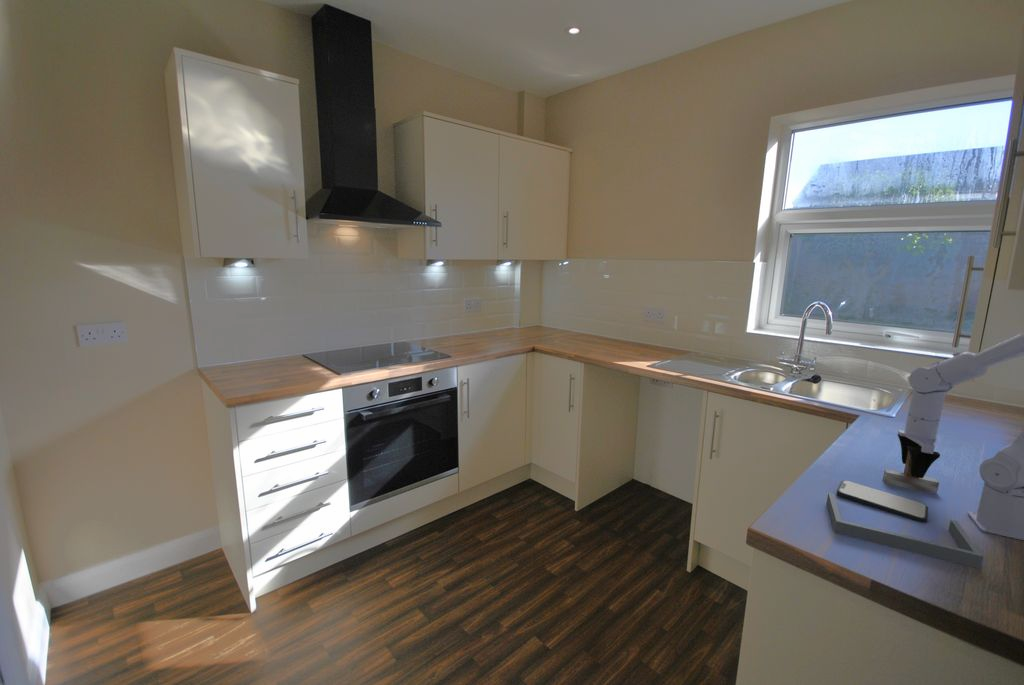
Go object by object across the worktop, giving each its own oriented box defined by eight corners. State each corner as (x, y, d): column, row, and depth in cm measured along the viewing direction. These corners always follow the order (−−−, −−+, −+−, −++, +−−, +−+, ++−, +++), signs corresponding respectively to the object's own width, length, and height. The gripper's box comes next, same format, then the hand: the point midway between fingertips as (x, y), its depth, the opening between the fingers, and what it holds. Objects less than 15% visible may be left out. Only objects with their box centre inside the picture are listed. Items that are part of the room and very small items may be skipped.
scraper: (933, 490, 113) (941, 455, 111) (936, 494, 111) (944, 459, 109) (882, 480, 118) (888, 446, 116) (884, 484, 116) (891, 449, 114)
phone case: (926, 511, 105) (841, 484, 115) (928, 504, 104) (842, 478, 115) (925, 527, 98) (835, 497, 109) (927, 520, 98) (836, 491, 108)
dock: (954, 532, 96) (957, 521, 95) (980, 568, 84) (983, 556, 84) (826, 503, 105) (828, 492, 105) (834, 532, 94) (836, 521, 94)
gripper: (894, 405, 119) (884, 455, 122) (910, 423, 106) (899, 478, 109) (930, 410, 116) (919, 461, 119) (951, 429, 103) (938, 486, 106)
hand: (912, 470), depth 114 cm, fingers open, 7 cm apart
